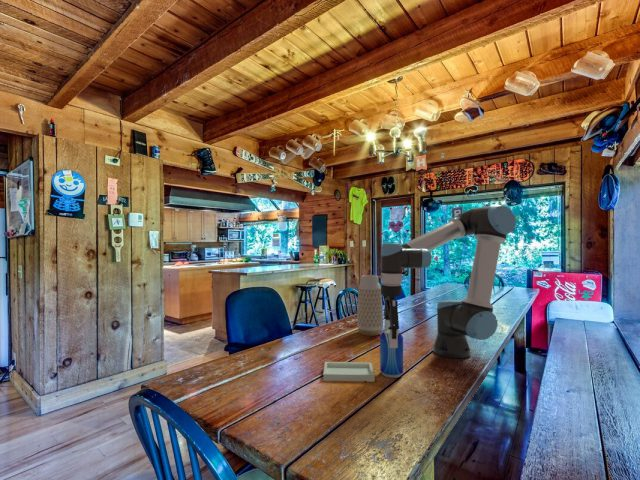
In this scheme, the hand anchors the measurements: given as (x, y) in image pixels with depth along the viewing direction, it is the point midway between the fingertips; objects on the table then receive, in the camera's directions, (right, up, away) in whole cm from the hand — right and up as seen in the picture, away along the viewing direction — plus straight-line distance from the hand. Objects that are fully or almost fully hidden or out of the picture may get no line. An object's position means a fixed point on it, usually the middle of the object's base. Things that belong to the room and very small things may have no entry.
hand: (390, 341), depth 124 cm
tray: (-16, -12, 0) cm, 20 cm away
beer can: (0, -12, 0) cm, 12 cm away
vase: (+1, -12, +54) cm, 56 cm away
